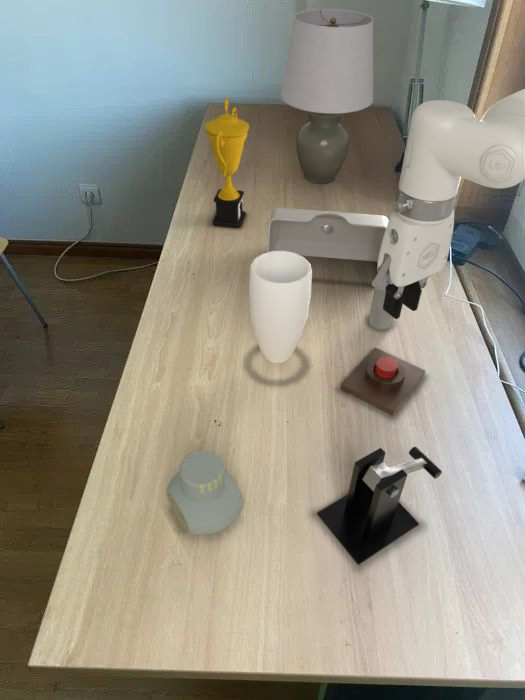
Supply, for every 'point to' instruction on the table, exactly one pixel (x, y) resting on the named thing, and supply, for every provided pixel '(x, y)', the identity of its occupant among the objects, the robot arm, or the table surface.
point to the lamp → (327, 83)
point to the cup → (279, 302)
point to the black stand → (369, 512)
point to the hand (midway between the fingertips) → (399, 309)
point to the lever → (383, 471)
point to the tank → (326, 233)
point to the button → (386, 367)
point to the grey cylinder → (379, 311)
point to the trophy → (228, 165)
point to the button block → (382, 383)
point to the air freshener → (204, 494)
